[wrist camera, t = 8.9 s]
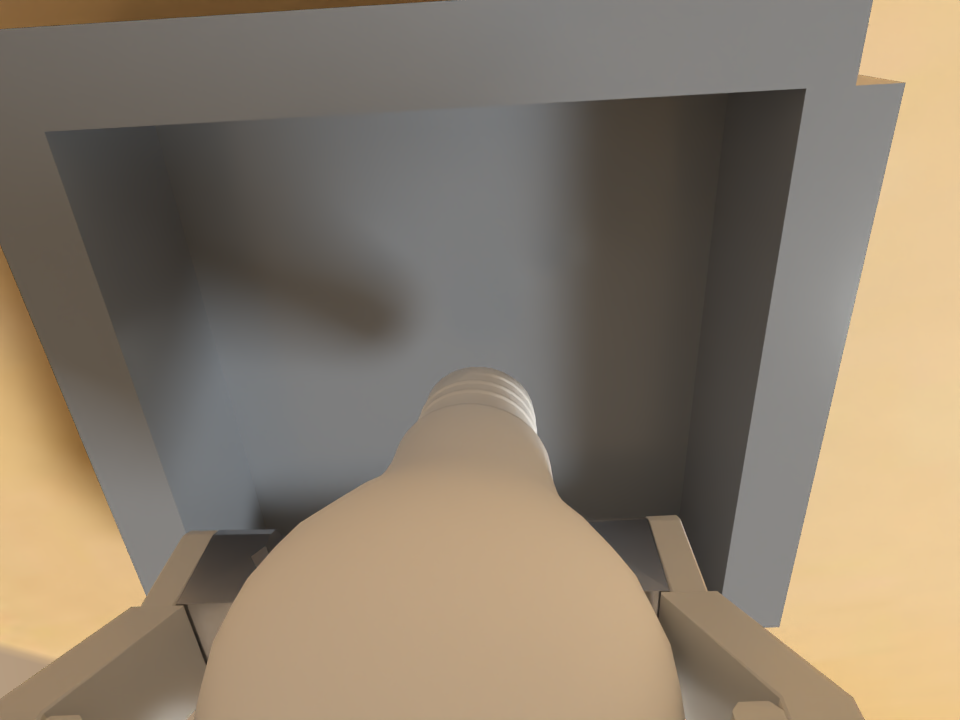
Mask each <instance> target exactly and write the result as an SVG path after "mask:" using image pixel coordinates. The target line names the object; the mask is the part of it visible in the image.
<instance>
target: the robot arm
mask: <svg viewBox="0 0 960 720" xmlns="http://www.w3.org/2000/svg"><path fill="white" fill-rule="evenodd" d="M585 520H586V521H587V522H588V523H589V524H590V525H591V526H592V527H593V528H594V529H595V530H596V531H597V532H598V533H599V534H600V535H601V536H602V537H603V538H604V539H605V540H606V541H607V542H608V543H609V545H610V546H611V547H612V548H613V549H614V550H615V551H616V552H617V554H618V555H619V556H620V557H621V558H622V559H623V561H624V562H625V563H626V564H627V565H628V567H629V568H630V569H631V570H632V571H633V573H634V574H635V575H636V577H637V579H638V581H639V583H640V584H641V586H642V588H643V590H644V592H645V594H646V596H647V598H648V600H649V602H650V604H651V606H652V608H653V610H654V612H655V614H656V616H657V618H658V620H659V622H660V624H661V626H662V628H663V630H664V632H665V634H666V636H667V638H668V640H669V642H670V644H671V649H672V653H673V657H674V662H675V666H676V671H677V675H678V679H679V684H680V689H681V695H682V701H683V707H684V713H685V719H686V720H865V719H864V717H863V716H862V714H861V712H860V710H859V708H858V706H857V704H856V702H855V700H854V698H853V697H852V696H850V695H849V694H848V693H847V692H845V691H844V690H843V689H842V688H840V687H839V686H838V685H836V684H835V683H834V682H833V681H831V680H830V679H829V678H828V677H826V676H825V675H824V674H822V673H821V672H820V671H819V670H817V669H816V668H815V667H813V666H812V665H811V664H810V663H808V662H807V661H806V660H805V659H803V658H802V657H801V656H799V655H798V654H797V653H796V652H794V651H793V650H792V649H791V648H789V647H788V646H787V645H785V644H784V643H783V642H782V641H780V640H779V639H778V638H777V637H775V636H774V635H773V634H771V633H770V632H769V631H768V630H766V629H765V628H764V627H762V626H761V625H760V624H759V623H757V622H756V621H755V620H754V619H752V618H751V617H750V616H748V615H747V614H746V613H745V612H743V611H742V610H741V609H740V608H738V607H737V606H736V605H734V604H733V603H732V602H731V601H729V600H728V599H727V598H726V597H724V596H723V595H722V594H720V593H719V592H718V591H708V590H707V588H706V585H705V583H704V580H703V577H702V575H701V572H700V569H699V567H698V564H697V561H696V559H695V556H694V554H693V551H692V548H691V546H690V543H689V540H688V538H687V535H686V532H685V530H684V527H683V525H682V522H681V519H680V518H679V517H678V516H677V515H666V516H646V517H632V518H607V519H585ZM281 540H283V536H282V533H281V532H280V531H278V530H276V529H258V530H219V531H189V532H188V533H186V534H185V535H183V537H182V538H181V540H180V541H179V543H178V545H177V546H176V548H175V550H174V551H173V553H172V555H171V556H170V558H169V560H168V561H167V563H166V565H165V566H164V568H163V570H162V571H161V573H160V575H159V576H158V578H157V580H156V581H155V583H154V585H153V586H152V588H151V590H150V591H149V593H148V595H147V596H146V598H145V600H144V601H143V603H142V605H141V606H140V607H131V608H129V609H128V610H126V611H125V612H123V613H122V614H121V615H119V616H118V617H116V618H115V619H113V620H112V621H111V622H109V623H108V624H106V625H105V626H103V627H102V628H101V629H99V630H98V631H96V632H95V633H93V634H92V635H91V636H89V637H88V638H86V639H85V640H83V641H82V642H81V643H79V644H78V645H76V646H75V647H73V648H72V649H71V650H69V651H68V652H66V653H65V654H63V655H62V656H61V657H59V658H58V659H56V660H55V661H53V662H52V663H51V664H49V665H48V666H46V667H45V668H43V669H42V670H41V671H39V672H38V673H36V674H35V675H34V676H32V677H31V678H29V679H28V680H26V681H25V682H24V683H22V684H21V685H19V686H18V687H16V688H15V689H13V690H12V691H11V692H9V693H8V694H6V695H5V696H3V697H2V698H1V699H0V720H187V719H188V718H189V717H190V715H191V714H192V713H193V712H194V711H195V710H196V706H197V701H198V697H199V693H200V688H201V684H202V680H203V677H204V673H205V669H206V665H207V661H208V658H209V654H210V650H211V646H212V642H213V640H214V638H215V636H216V634H217V632H218V630H219V628H220V626H221V624H222V623H223V621H224V619H225V617H226V615H227V613H228V611H229V609H230V607H231V605H232V603H233V602H234V600H235V598H236V597H237V595H238V593H239V592H240V590H241V588H242V587H243V585H244V583H245V582H246V580H247V578H248V577H249V576H250V575H251V574H252V573H253V571H254V570H255V569H256V568H257V567H258V566H259V565H260V563H261V562H262V561H263V560H264V559H265V558H266V557H267V555H268V554H269V553H270V552H271V551H272V550H273V549H274V548H275V546H276V545H277V544H278V543H279V542H280V541H281Z"/></svg>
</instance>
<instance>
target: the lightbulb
mask: <svg viewBox="0 0 960 720" xmlns="http://www.w3.org/2000/svg"><path fill="white" fill-rule="evenodd" d="M194 720H685V713H684V707H683V701H682V695H681V689H680V684H679V679H678V675H677V671H676V666H675V662H674V657H673V653H672V649H671V644H670V642H669V640H668V638H667V636H666V634H665V632H664V630H663V628H662V626H661V624H660V622H659V620H658V618H657V616H656V614H655V612H654V610H653V608H652V606H651V604H650V602H649V600H648V598H647V596H646V594H645V592H644V590H643V588H642V586H641V584H640V583H639V581H638V579H637V577H636V575H635V574H634V573H633V571H632V570H631V569H630V568H629V567H628V565H627V564H626V563H625V562H624V561H623V559H622V558H621V557H620V556H619V555H618V554H617V552H616V551H615V550H614V549H613V548H612V547H611V546H610V545H609V543H608V542H607V541H606V540H605V539H604V538H603V537H602V536H601V535H600V534H599V533H598V532H597V531H596V530H595V529H594V528H593V527H592V526H591V525H590V524H589V523H588V522H587V521H586V520H585V519H584V518H583V517H582V516H581V515H580V514H578V513H577V512H576V511H575V510H573V509H572V508H571V507H570V506H568V505H567V504H566V503H565V502H563V501H562V499H561V498H560V496H559V495H558V493H557V490H556V488H555V485H554V482H553V478H552V471H551V465H550V461H549V457H548V453H547V451H546V449H545V447H544V445H543V443H542V441H541V440H540V438H539V437H538V435H537V427H536V417H535V413H534V409H533V405H532V401H531V399H530V397H529V395H528V393H527V391H526V390H525V389H524V388H523V386H522V385H521V384H520V383H519V382H518V381H516V380H515V379H514V378H513V377H511V376H509V375H508V374H506V373H504V372H501V371H499V370H496V369H492V368H486V367H468V368H463V369H459V370H457V371H454V372H452V373H450V374H448V375H446V376H445V377H443V378H442V379H441V380H440V381H439V382H438V383H437V384H436V385H435V386H434V387H433V389H432V390H431V392H430V394H429V396H428V399H427V402H426V403H425V405H424V406H423V409H422V411H421V414H420V417H419V419H418V421H417V422H416V423H415V424H414V425H413V426H412V427H411V428H410V429H409V430H408V431H407V432H406V434H405V435H404V437H403V438H402V440H401V441H400V444H399V446H398V448H397V451H396V453H395V455H394V458H393V460H392V462H391V464H390V465H389V467H388V468H387V470H386V471H385V472H384V473H383V474H382V475H381V476H379V477H377V478H375V479H372V480H370V481H368V482H366V483H364V484H362V485H360V486H359V487H357V488H355V489H354V490H352V491H350V492H349V493H347V494H345V495H344V496H342V497H340V498H339V499H337V500H336V501H334V502H332V503H331V504H329V505H328V506H326V507H324V508H323V509H321V510H320V511H318V512H316V513H315V514H313V515H312V516H310V517H308V518H307V519H305V520H303V521H302V522H300V523H299V524H298V525H297V526H296V527H295V528H294V529H293V530H292V531H291V532H290V533H289V534H288V535H287V536H286V537H285V538H284V539H283V540H281V541H280V542H279V543H278V544H277V545H276V546H275V548H274V549H273V550H272V551H271V552H270V553H269V554H268V555H267V557H266V558H265V559H264V560H263V561H262V562H261V563H260V565H259V566H258V567H257V568H256V569H255V570H254V571H253V573H252V574H251V575H250V576H249V577H248V578H247V580H246V582H245V583H244V585H243V587H242V588H241V590H240V592H239V593H238V595H237V597H236V598H235V600H234V602H233V603H232V605H231V607H230V609H229V611H228V613H227V615H226V617H225V619H224V621H223V623H222V624H221V626H220V628H219V630H218V632H217V634H216V636H215V638H214V640H213V642H212V646H211V650H210V654H209V658H208V661H207V665H206V669H205V673H204V677H203V680H202V684H201V688H200V693H199V697H198V701H197V706H196V710H195V715H194Z"/></svg>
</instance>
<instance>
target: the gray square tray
mask: <svg viewBox="0 0 960 720" xmlns="http://www.w3.org/2000/svg"><path fill="white" fill-rule="evenodd" d="M872 2H873V0H449V1H434V2H418V3H402V4H387V5H371V6H355V7H340V8H324V9H308V10H293V11H277V12H261V13H246V14H230V15H214V16H199V17H183V18H167V19H152V20H136V21H120V22H105V23H89V24H73V25H58V26H42V27H27V28H11V29H0V245H1V248H2V250H3V252H4V255H5V257H6V260H7V262H8V264H9V267H10V269H11V272H12V274H13V276H14V279H15V281H16V284H17V286H18V288H19V291H20V293H21V296H22V298H23V300H24V303H25V305H26V308H27V310H28V312H29V315H30V317H31V320H32V322H33V325H34V327H35V329H36V332H37V334H38V337H39V339H40V341H41V344H42V346H43V349H44V351H45V353H46V356H47V358H48V361H49V363H50V365H51V368H52V370H53V373H54V375H55V377H56V380H57V382H58V385H59V387H60V389H61V392H62V394H63V397H64V399H65V401H66V404H67V406H68V409H69V411H70V413H71V416H72V418H73V421H74V423H75V426H76V428H77V430H78V433H79V435H80V438H81V440H82V442H83V445H84V447H85V450H86V452H87V454H88V457H89V459H90V462H91V464H92V466H93V469H94V471H95V474H96V476H97V478H98V481H99V483H100V486H101V488H102V490H103V493H104V495H105V498H106V500H107V502H108V505H109V507H110V510H111V512H112V515H113V517H114V519H115V522H116V524H117V527H118V529H119V531H120V534H121V536H122V539H123V541H124V543H125V546H126V548H127V551H128V553H129V555H130V558H131V560H132V563H133V565H134V567H135V570H136V572H137V575H138V577H139V579H140V582H141V584H142V587H143V589H144V591H145V594H146V596H147V595H148V593H149V591H150V590H151V588H152V586H153V585H154V583H155V581H156V580H157V578H158V576H159V575H160V573H161V571H162V570H163V568H164V566H165V565H166V563H167V561H168V560H169V558H170V556H171V555H172V553H173V551H174V550H175V548H176V546H177V545H178V543H179V541H180V540H181V538H182V537H183V535H185V534H186V533H188V532H189V531H219V530H258V529H276V530H278V531H280V532H281V533H282V536H283V539H284V538H285V537H286V536H287V535H288V534H289V533H290V532H291V531H292V530H293V529H294V528H295V527H296V526H297V525H298V524H299V523H300V522H302V521H303V520H305V519H307V518H308V517H310V516H312V515H313V514H315V513H316V512H318V511H320V510H321V509H323V508H324V507H326V506H328V505H329V504H331V503H332V502H334V501H336V500H337V499H339V498H340V497H342V496H344V495H345V494H347V493H349V492H350V491H352V490H354V489H355V488H357V487H359V486H360V485H362V484H364V483H366V482H368V481H370V480H372V479H375V478H377V477H379V476H381V475H382V474H383V473H384V472H385V471H386V470H387V468H388V467H389V465H390V464H391V462H392V460H393V458H394V455H395V453H396V451H397V448H398V446H399V444H400V441H401V440H402V438H403V437H404V435H405V434H406V432H407V431H408V430H409V429H410V428H411V427H412V426H413V425H414V424H415V423H416V422H417V421H418V419H419V417H420V414H421V411H422V409H423V406H424V405H425V403H426V402H427V399H428V396H429V394H430V392H431V390H432V389H433V387H434V386H435V385H436V384H437V383H438V382H439V381H440V380H441V379H442V378H443V377H445V376H446V375H448V374H450V373H452V372H454V371H457V370H459V369H463V368H468V367H486V368H492V369H496V370H499V371H501V372H504V373H506V374H508V375H509V376H511V377H513V378H514V379H515V380H516V381H518V382H519V383H520V384H521V385H522V386H523V388H524V389H525V390H526V391H527V393H528V395H529V397H530V399H531V401H532V405H533V409H534V413H535V417H536V427H537V435H538V437H539V438H540V440H541V441H542V443H543V445H544V447H545V449H546V451H547V453H548V457H549V461H550V465H551V471H552V478H553V482H554V485H555V488H556V490H557V493H558V495H559V496H560V498H561V499H562V501H563V502H565V503H566V504H567V505H568V506H570V507H571V508H572V509H573V510H575V511H576V512H577V513H578V514H580V515H581V516H582V517H583V518H584V519H607V518H632V517H646V516H666V515H677V516H678V517H679V518H680V519H681V522H682V525H683V527H684V530H685V532H686V535H687V538H688V540H689V543H690V546H691V548H692V551H693V554H694V556H695V559H696V561H697V564H698V567H699V569H700V572H701V575H702V577H703V580H704V583H705V585H706V588H707V590H708V591H718V592H719V593H720V594H722V595H723V596H724V597H726V598H727V599H728V600H729V601H731V602H732V603H733V604H734V605H736V606H737V607H738V608H740V609H741V610H742V611H743V612H745V613H746V614H747V615H748V616H750V617H751V618H752V619H754V620H755V621H756V622H757V623H759V624H760V625H761V626H762V627H779V626H780V621H781V617H782V613H783V608H784V604H785V600H786V595H787V591H788V587H789V583H790V578H791V574H792V570H793V565H794V561H795V557H796V552H797V548H798V544H799V539H800V535H801V531H802V527H803V522H804V518H805V514H806V509H807V505H808V501H809V496H810V492H811V488H812V483H813V479H814V475H815V471H816V466H817V462H818V458H819V453H820V449H821V445H822V440H823V436H824V432H825V428H826V423H827V419H828V415H829V410H830V406H831V402H832V397H833V393H834V389H835V384H836V380H837V376H838V372H839V367H840V363H841V359H842V354H843V350H844V346H845V341H846V337H847V333H848V328H849V324H850V320H851V316H852V311H853V307H854V303H855V298H856V294H857V290H858V285H859V281H860V277H861V272H862V268H863V264H864V260H865V255H866V251H867V247H868V242H869V238H870V234H871V229H872V225H873V221H874V216H875V212H876V208H877V204H878V199H879V195H880V191H881V186H882V182H883V178H884V173H885V169H886V165H887V161H888V156H889V152H890V148H891V143H892V139H893V135H894V130H895V126H896V122H897V117H898V113H899V109H900V105H901V100H902V96H903V92H904V87H905V83H904V82H898V81H893V80H887V79H881V78H875V77H869V76H863V75H858V72H859V67H860V62H861V57H862V52H863V47H864V42H865V37H866V32H867V27H868V22H869V17H870V12H871V7H872Z"/></svg>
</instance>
